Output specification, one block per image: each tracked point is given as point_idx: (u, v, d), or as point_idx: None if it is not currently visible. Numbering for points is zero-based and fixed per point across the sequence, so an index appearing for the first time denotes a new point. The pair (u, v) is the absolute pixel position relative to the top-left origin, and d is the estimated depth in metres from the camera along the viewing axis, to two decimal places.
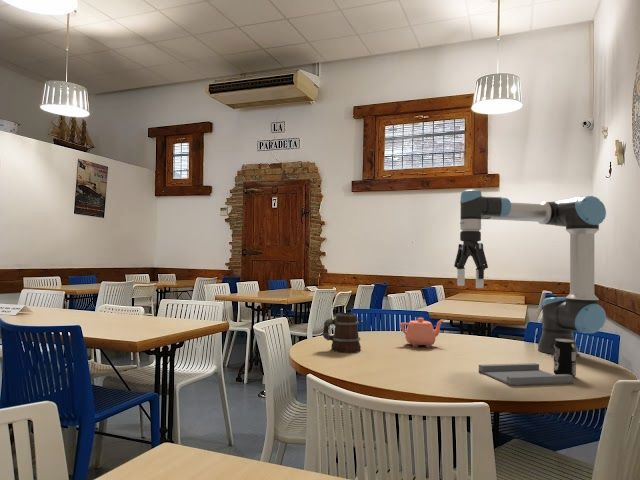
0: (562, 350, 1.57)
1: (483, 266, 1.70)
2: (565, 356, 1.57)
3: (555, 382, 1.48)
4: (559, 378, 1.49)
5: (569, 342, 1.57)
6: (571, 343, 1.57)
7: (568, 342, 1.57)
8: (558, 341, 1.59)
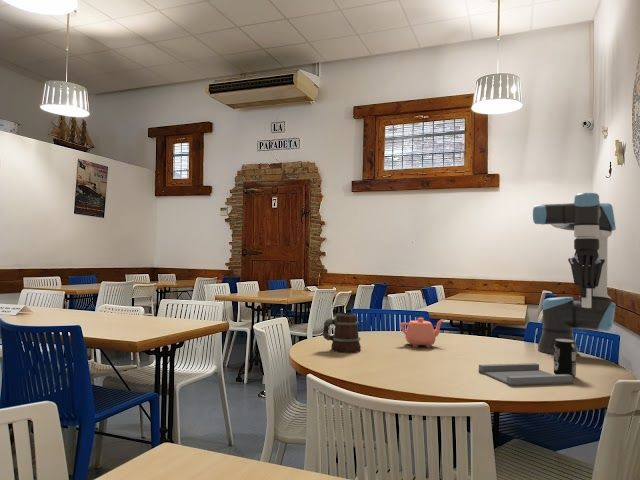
0: (562, 350, 1.57)
1: (576, 284, 1.62)
2: (565, 356, 1.57)
3: (555, 382, 1.48)
4: (559, 378, 1.49)
5: (569, 342, 1.57)
6: (571, 343, 1.57)
7: (568, 342, 1.57)
8: (558, 341, 1.59)
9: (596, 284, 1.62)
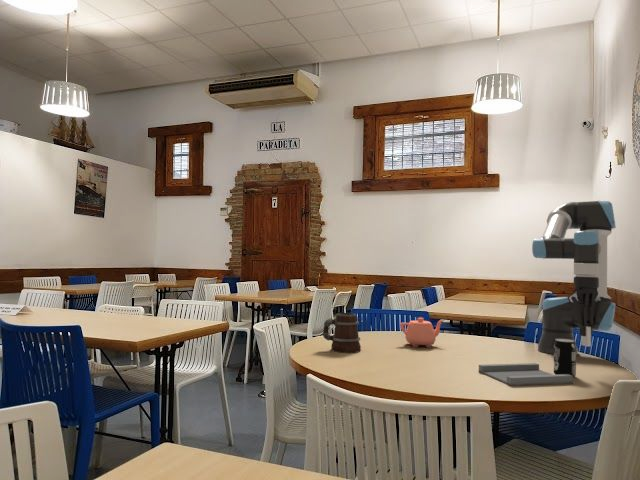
0: (562, 350, 1.57)
1: (575, 322, 1.62)
2: (565, 356, 1.57)
3: (555, 382, 1.48)
4: (559, 378, 1.49)
5: (569, 342, 1.57)
6: (571, 343, 1.57)
7: (568, 342, 1.57)
8: (558, 341, 1.59)
9: (596, 322, 1.61)
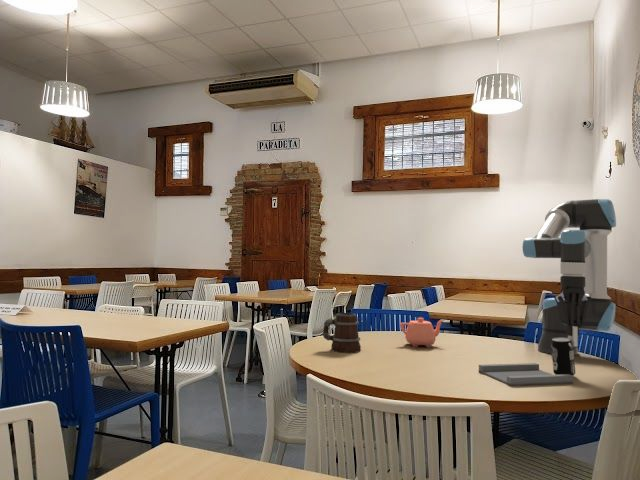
0: (559, 350, 1.57)
1: (562, 321, 1.60)
2: (563, 356, 1.56)
3: (555, 382, 1.48)
4: (559, 378, 1.49)
5: (566, 341, 1.57)
6: (568, 343, 1.57)
7: (565, 341, 1.57)
8: (555, 341, 1.59)
9: (582, 322, 1.60)
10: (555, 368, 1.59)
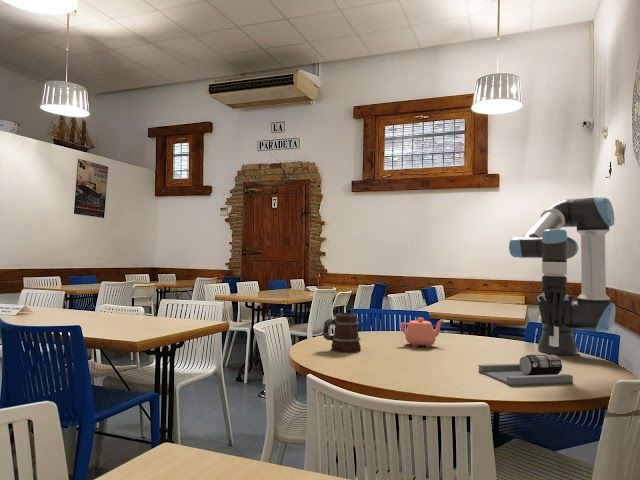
0: (537, 374, 1.55)
1: (543, 322, 1.59)
2: (543, 372, 1.55)
3: (555, 382, 1.48)
4: (559, 378, 1.49)
5: (531, 368, 1.54)
6: (532, 366, 1.54)
7: (531, 369, 1.54)
8: (526, 374, 1.56)
9: (564, 322, 1.59)
10: None
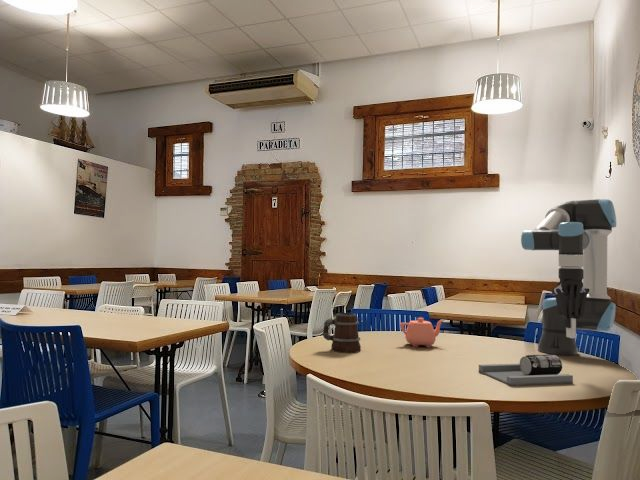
0: (537, 374, 1.55)
1: (560, 314, 1.61)
2: (543, 372, 1.55)
3: (555, 382, 1.48)
4: (559, 378, 1.49)
5: (531, 368, 1.54)
6: (533, 366, 1.54)
7: (531, 369, 1.54)
8: (526, 374, 1.56)
9: (581, 314, 1.60)
10: None
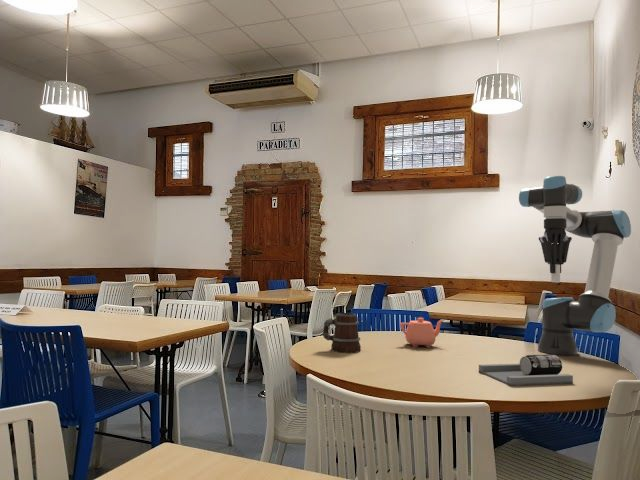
0: (537, 374, 1.55)
1: (546, 260, 1.75)
2: (543, 372, 1.55)
3: (555, 382, 1.48)
4: (559, 378, 1.49)
5: (531, 369, 1.54)
6: (533, 366, 1.54)
7: (531, 369, 1.54)
8: (526, 374, 1.56)
9: (564, 260, 1.75)
10: None
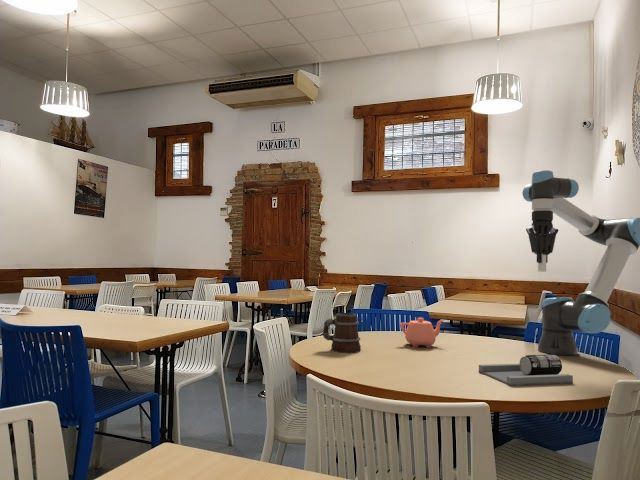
0: (537, 374, 1.55)
1: (533, 250, 1.84)
2: (543, 372, 1.55)
3: (555, 382, 1.48)
4: (559, 378, 1.49)
5: (531, 368, 1.54)
6: (532, 366, 1.54)
7: (531, 369, 1.54)
8: (526, 374, 1.56)
9: (550, 251, 1.84)
10: None
